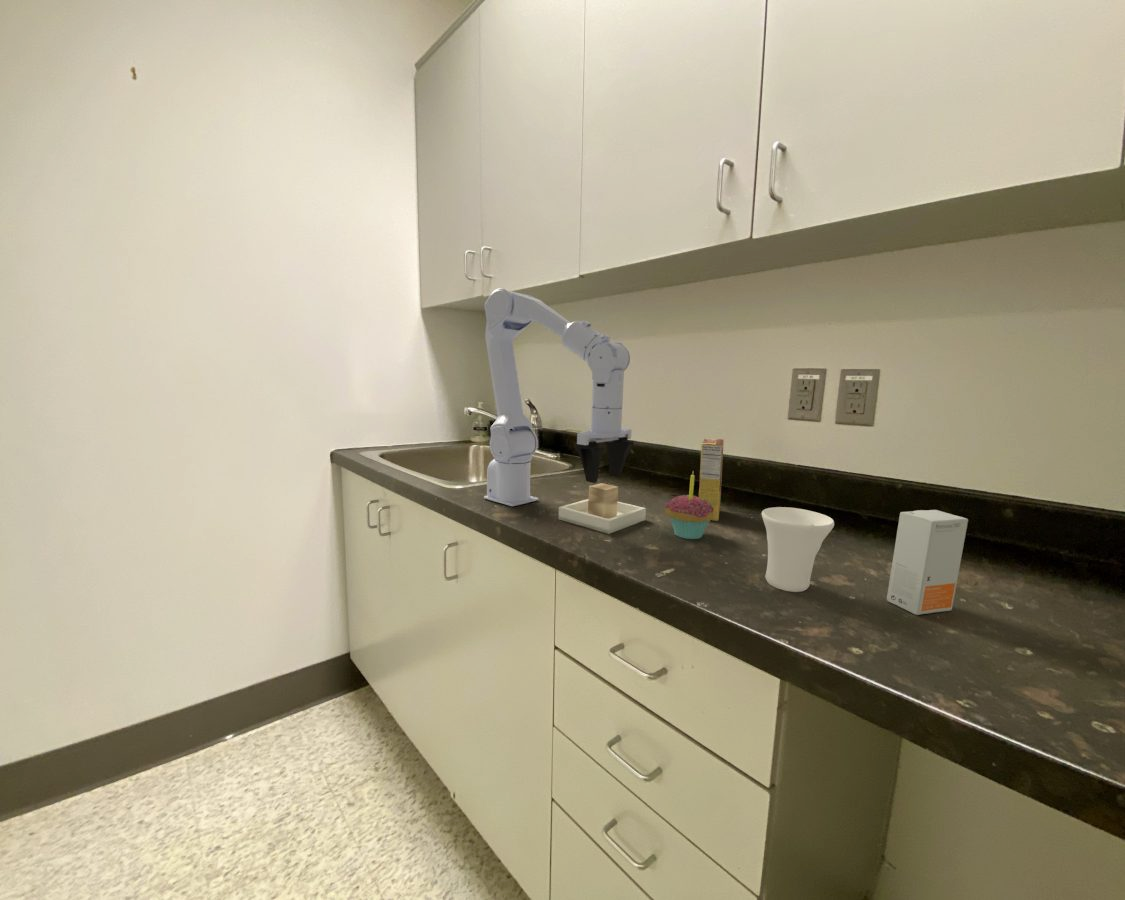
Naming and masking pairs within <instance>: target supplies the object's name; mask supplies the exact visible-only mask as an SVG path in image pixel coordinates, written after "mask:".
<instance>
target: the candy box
mask: <svg viewBox="0 0 1125 900" xmlns="http://www.w3.org/2000/svg"><path fill="white" fill-rule="evenodd" d="M724 443H725V441H724V439H720V438H719V439H718V438H704V439H703V441H702V443H701V446H700V450H701V451H700V464H699V465H700V466H699V468H700V469H699V483H698V485H699V486H698V487H699V489H698V497H699V498H702V499H703V500H704V499H705V500H706V501H708V502H709V503H710V504H711V505H712V507H714V510H713V511H714V518H713V519H712V521H713V522H719V518H720V513H721V499H722V497H721V496H722V495H721V494H722V481H723V479H722V478H723V477H722V476H723V460H724V456H723V455H724Z"/></svg>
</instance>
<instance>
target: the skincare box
mask: <svg viewBox="0 0 1125 900" xmlns="http://www.w3.org/2000/svg"><path fill="white" fill-rule="evenodd" d="M968 523H969V519H968V518H966V517H963V516H959V515H954V514H952V513H948V512H945V511H941V510H938V509H929V510H925V509H924V510H923V509H920V510H919V509H917V510H913V511H912V510H911V511H900V513H899V517H898V525H897V530H896V537H895V544H894V550H893V556H892V563H891V570H890V573H889V574H890V576H889V581H888V587H887V594H886V595H887V596H886V601H887V602H889V603H891V604H893V605H895V606H897V607H899V608H901V609H903V610H906V611H907V612H910V613H911V614H913V615H915V616H919V615H924V614H932V613H941V612H950V611H952V610H953V607H954V601H955V595H956V588H957V584H958V583H957V582H958V577H959V572H960V568H961V561H962V555H963V549H964V543H965V539H966V533H967V529H968Z"/></svg>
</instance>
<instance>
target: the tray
mask: <svg viewBox="0 0 1125 900" xmlns="http://www.w3.org/2000/svg"><path fill="white" fill-rule="evenodd" d="M588 499H589V498H587V499H583V500H580V501H577V502H573V503H569V504H568V503H567V504H565V505H562V506H559V507H558V519H557V520H559V521H562V522H566V523H570V524H573V525H576V526H581V527H585V528H588V529H589V530H594V531H597V532H600V533H605V534H606V535H607V534H608V535H611V534H613V533H615V532H617V531H620V530H623V529H626V528H629V527H630V526H633V525H636V524H638V523H642V522H644V521H646V514H647V513H646V511H647V507H642V506H638V505H634V504H629V503H626V502H621V501H618V502H617V516H616V517H613V518H610V519H607V518H603V517H599V516H595V515H592V514H588Z"/></svg>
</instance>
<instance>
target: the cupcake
mask: <svg viewBox="0 0 1125 900" xmlns="http://www.w3.org/2000/svg"><path fill="white" fill-rule="evenodd" d="M694 473H695V472H694V470H692V474H691V475H690V479H689V480H690V481H689V492H688V494H682V495H678V496H675V497H673V498H671V499H669V500H668V501H667V502H666V504H665V505H664V514H665V515H667V516H668V517H669V518H670V521H671V524H672V527H673V531H674V535H676V536H677V537H679V538H682V539H687V540H698V539H701V538H702V537H703V535H704V532H705V530H706V528H707V526H708V523H709V522H711V520H712V519H713V518H714V511H713V510H714V507H712V505H711V504H710V503H709V502H708V501H706V500H705V499H704V500H703V499H702V498H699V496H696V495H694V486H695V478H696V477H695V476H696V475H694Z"/></svg>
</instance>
